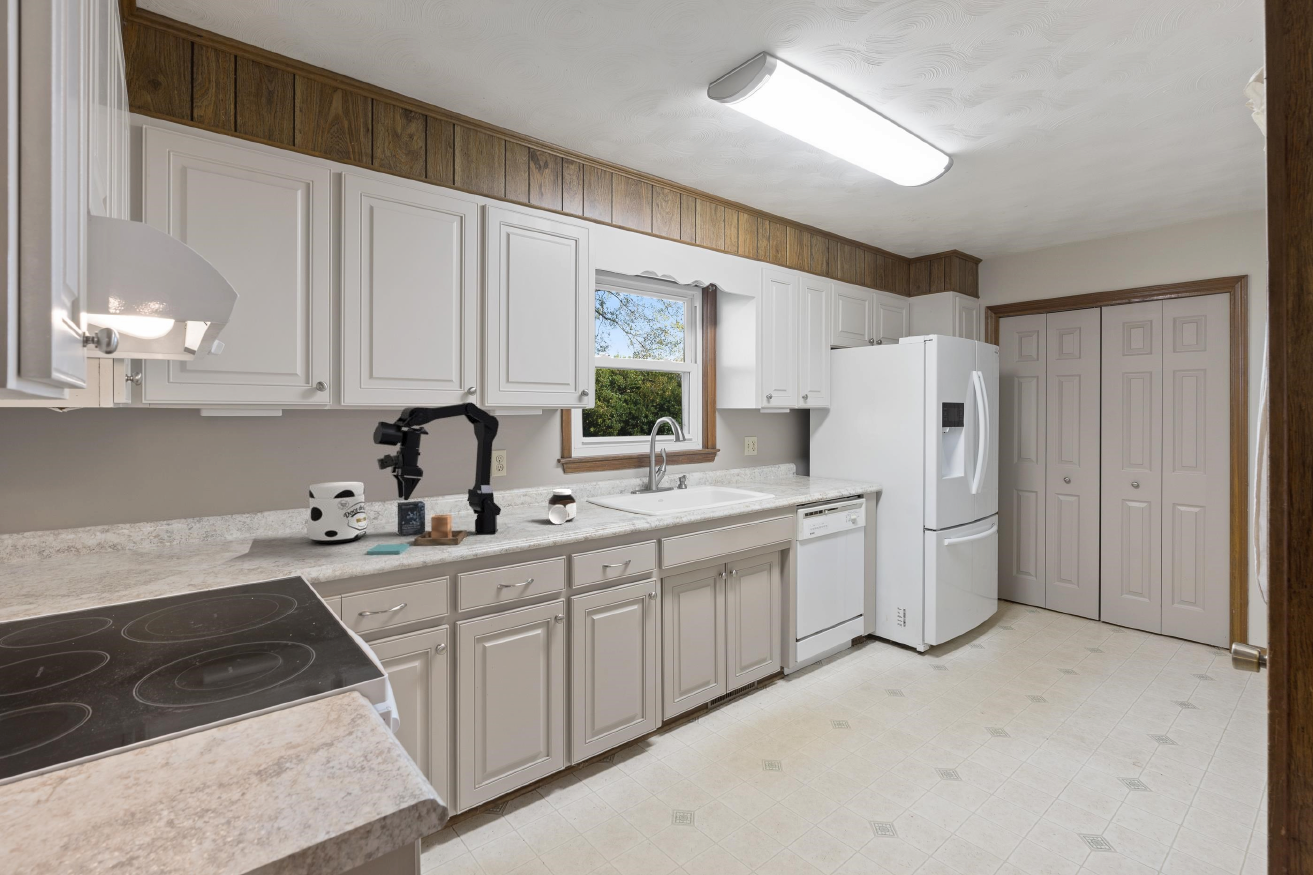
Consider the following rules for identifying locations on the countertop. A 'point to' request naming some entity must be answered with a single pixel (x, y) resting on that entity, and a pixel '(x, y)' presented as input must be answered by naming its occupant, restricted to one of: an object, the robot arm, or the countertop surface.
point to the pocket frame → (440, 539)
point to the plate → (388, 549)
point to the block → (441, 526)
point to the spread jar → (561, 506)
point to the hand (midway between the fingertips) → (403, 498)
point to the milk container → (336, 512)
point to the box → (411, 518)
